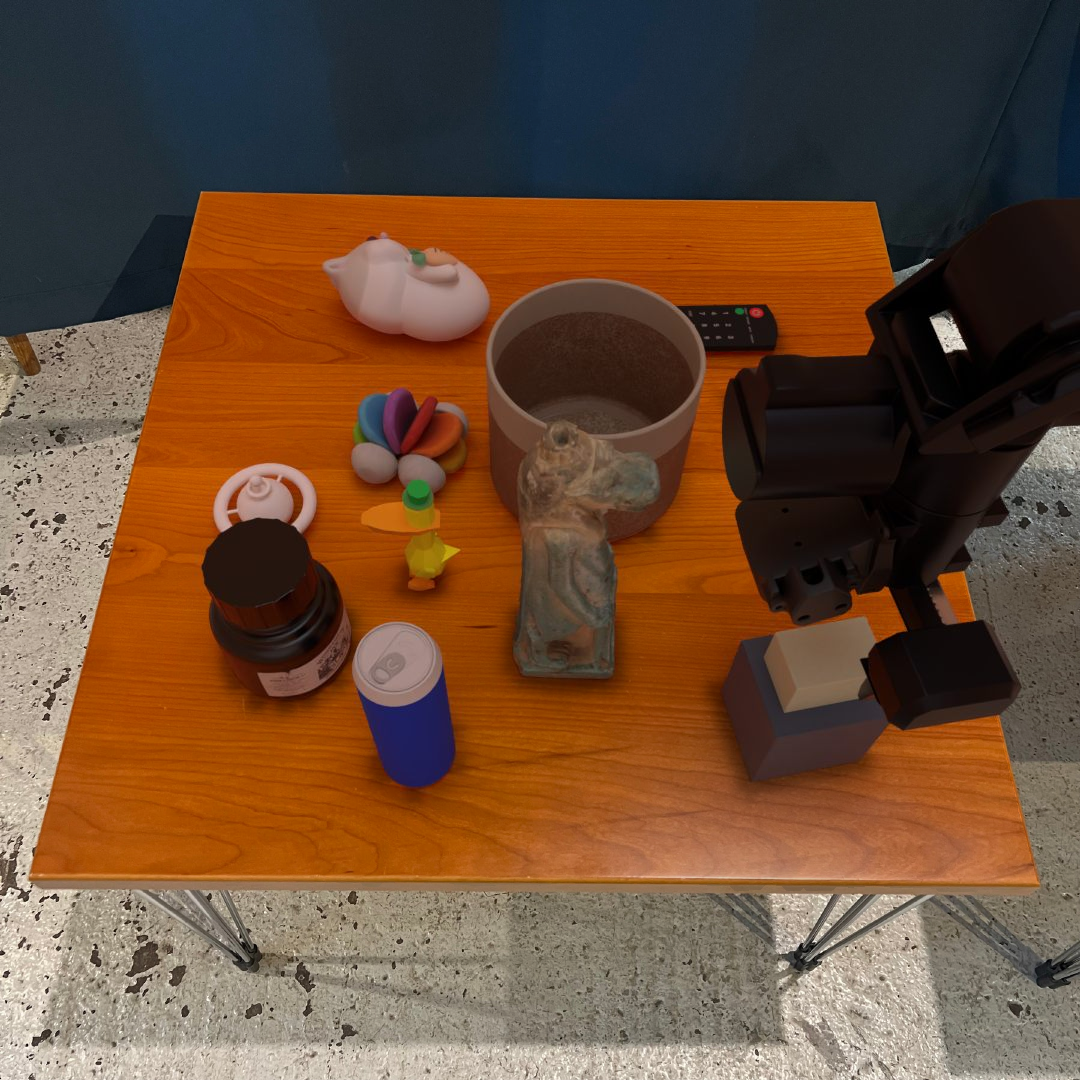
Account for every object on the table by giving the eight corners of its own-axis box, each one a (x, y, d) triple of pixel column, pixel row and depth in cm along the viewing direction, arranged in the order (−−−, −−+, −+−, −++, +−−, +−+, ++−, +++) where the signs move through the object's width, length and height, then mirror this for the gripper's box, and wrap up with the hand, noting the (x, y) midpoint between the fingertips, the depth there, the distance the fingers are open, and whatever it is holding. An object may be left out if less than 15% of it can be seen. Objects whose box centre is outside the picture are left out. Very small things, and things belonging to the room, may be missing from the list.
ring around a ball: (313, 469, 81) (215, 487, 79) (301, 426, 76) (196, 445, 75) (326, 549, 77) (223, 569, 75) (314, 510, 72) (204, 531, 71)
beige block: (849, 641, 64) (865, 615, 61) (873, 696, 62) (890, 672, 59) (763, 657, 63) (774, 631, 60) (783, 713, 61) (797, 690, 58)
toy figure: (374, 600, 74) (351, 509, 64) (378, 560, 76) (356, 466, 66) (463, 599, 74) (454, 508, 64) (464, 560, 76) (455, 465, 66)
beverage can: (417, 705, 69) (394, 601, 57) (471, 749, 68) (460, 651, 55) (365, 758, 67) (330, 662, 55) (420, 805, 65) (396, 717, 53)
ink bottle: (296, 730, 68) (258, 652, 58) (202, 668, 71) (149, 584, 61) (380, 626, 73) (358, 538, 63) (289, 572, 75) (254, 479, 65)
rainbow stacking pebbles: (450, 511, 79) (444, 455, 73) (339, 482, 80) (324, 425, 74) (483, 433, 83) (480, 374, 77) (377, 408, 85) (366, 348, 79)
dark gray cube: (824, 671, 71) (855, 618, 65) (860, 761, 68) (897, 715, 61) (719, 690, 70) (740, 639, 64) (750, 783, 67) (776, 738, 60)
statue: (629, 688, 70) (676, 481, 49) (514, 693, 70) (511, 486, 49) (620, 605, 74) (660, 380, 53) (510, 609, 74) (507, 385, 53)
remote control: (515, 318, 91) (515, 308, 90) (769, 315, 92) (772, 304, 91) (516, 360, 88) (516, 349, 87) (778, 355, 89) (782, 345, 88)
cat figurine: (498, 246, 82) (324, 208, 82) (478, 338, 82) (304, 301, 82) (499, 279, 92) (343, 245, 92) (482, 361, 92) (325, 328, 91)
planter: (714, 510, 79) (748, 396, 68) (537, 576, 75) (540, 467, 64) (626, 377, 87) (643, 255, 76) (462, 431, 83) (452, 311, 72)
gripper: (717, 339, 49) (668, 517, 62) (848, 672, 39) (757, 800, 52) (922, 318, 50) (833, 496, 63) (1099, 633, 40) (949, 767, 53)
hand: (838, 627), depth 58 cm, fingers open, 9 cm apart
